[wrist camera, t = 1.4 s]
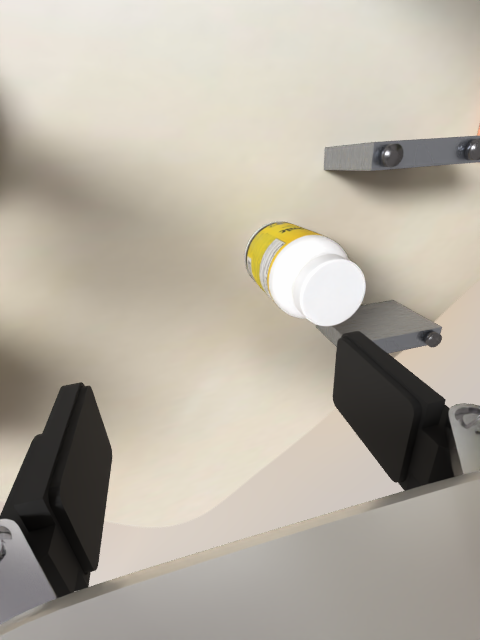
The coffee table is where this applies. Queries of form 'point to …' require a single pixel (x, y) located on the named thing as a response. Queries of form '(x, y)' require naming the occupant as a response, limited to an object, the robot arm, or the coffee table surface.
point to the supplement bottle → (305, 273)
